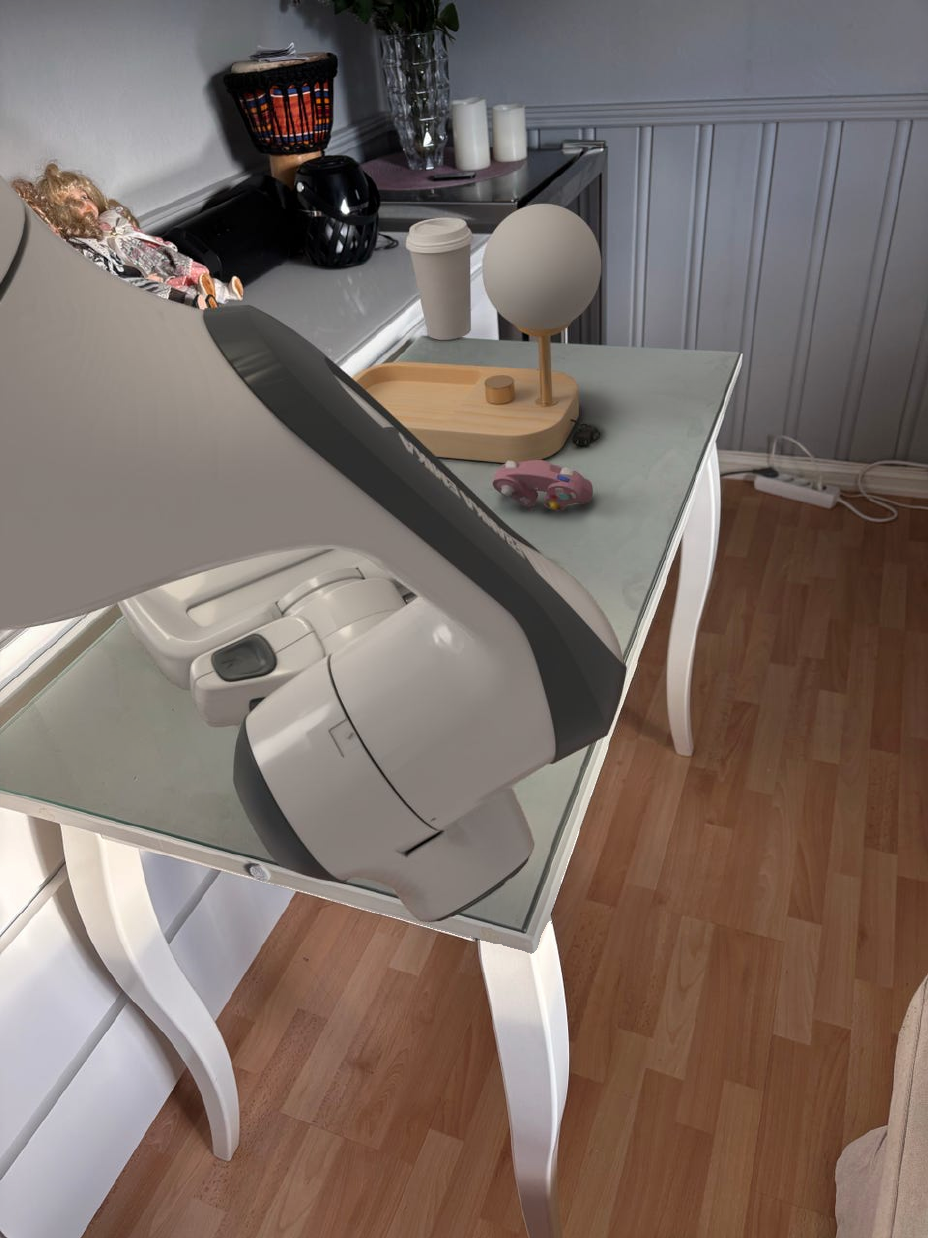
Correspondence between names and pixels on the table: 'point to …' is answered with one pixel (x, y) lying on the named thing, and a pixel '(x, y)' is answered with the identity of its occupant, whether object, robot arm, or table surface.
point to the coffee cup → (443, 275)
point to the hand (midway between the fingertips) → (238, 463)
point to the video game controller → (542, 484)
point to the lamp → (497, 396)
